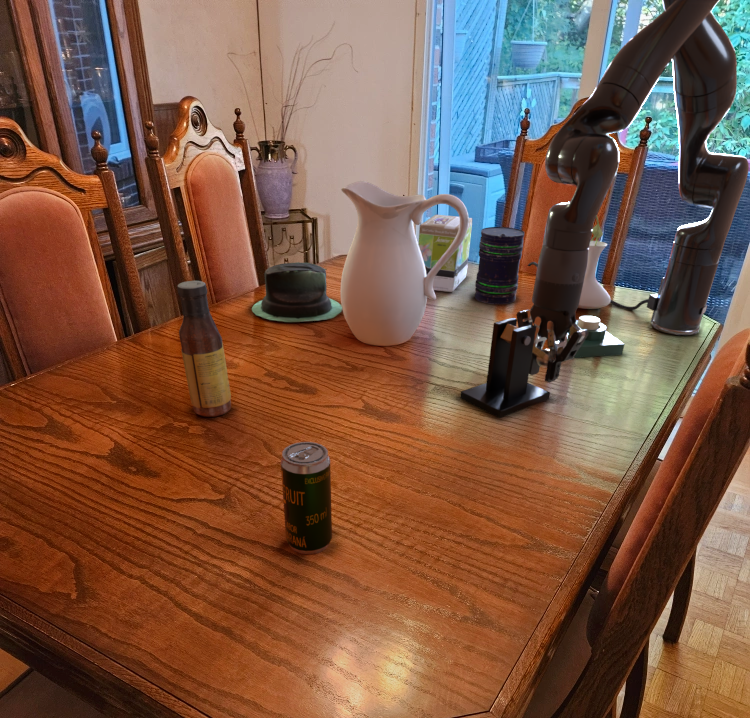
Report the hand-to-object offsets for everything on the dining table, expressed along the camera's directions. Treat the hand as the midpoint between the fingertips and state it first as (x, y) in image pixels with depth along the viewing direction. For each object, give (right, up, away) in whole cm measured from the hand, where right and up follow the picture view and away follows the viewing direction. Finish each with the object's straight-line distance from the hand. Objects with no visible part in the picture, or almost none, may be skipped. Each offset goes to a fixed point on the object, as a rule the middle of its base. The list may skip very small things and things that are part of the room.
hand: (541, 376), depth 115 cm
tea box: (-12, +33, +52) cm, 63 cm away
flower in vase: (+19, +23, +39) cm, 49 cm away
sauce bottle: (-55, -7, -9) cm, 56 cm away
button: (+13, +13, +16) cm, 24 cm away
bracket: (-7, -4, -4) cm, 9 cm away
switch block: (+13, +10, +18) cm, 24 cm away
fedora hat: (-46, +21, +33) cm, 61 cm away
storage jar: (0, +26, +43) cm, 50 cm away
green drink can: (-36, -26, -37) cm, 58 cm away
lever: (-4, +2, -5) cm, 7 cm away
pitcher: (-24, +11, +19) cm, 32 cm away
